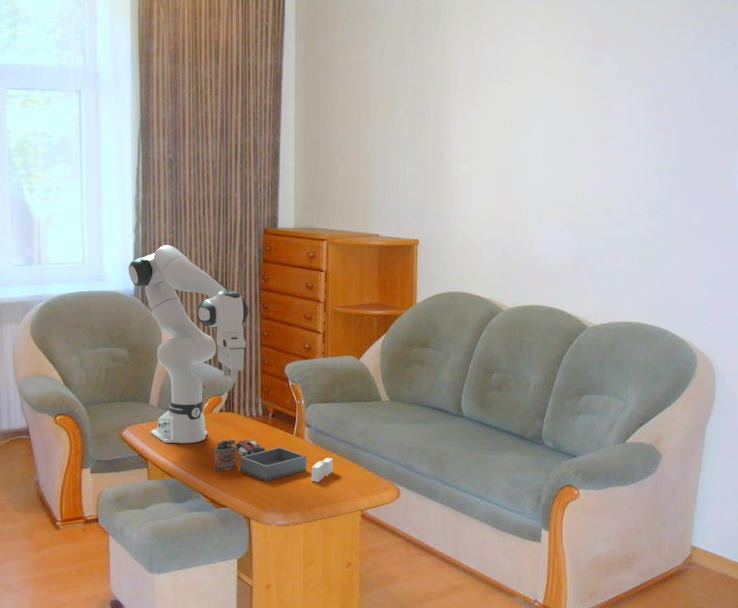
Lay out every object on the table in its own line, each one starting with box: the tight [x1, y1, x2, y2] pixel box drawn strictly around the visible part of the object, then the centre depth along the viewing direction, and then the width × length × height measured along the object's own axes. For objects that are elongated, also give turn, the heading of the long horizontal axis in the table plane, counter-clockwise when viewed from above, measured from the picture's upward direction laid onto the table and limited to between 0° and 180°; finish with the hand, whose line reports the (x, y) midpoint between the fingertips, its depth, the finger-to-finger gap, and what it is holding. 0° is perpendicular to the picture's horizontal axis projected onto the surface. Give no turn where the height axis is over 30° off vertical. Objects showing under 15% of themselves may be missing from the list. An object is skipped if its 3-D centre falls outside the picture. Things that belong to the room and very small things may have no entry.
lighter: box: [213, 439, 238, 471], centre depth 303 cm, size 8×3×10 cm, turn 118°
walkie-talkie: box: [235, 439, 266, 457], centre depth 320 cm, size 9×4×20 cm
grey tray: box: [239, 446, 307, 482], centre depth 303 cm, size 14×18×5 cm
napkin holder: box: [311, 457, 334, 483], centre depth 299 cm, size 15×11×6 cm
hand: (229, 379), depth 303 cm, fingers open, 8 cm apart
